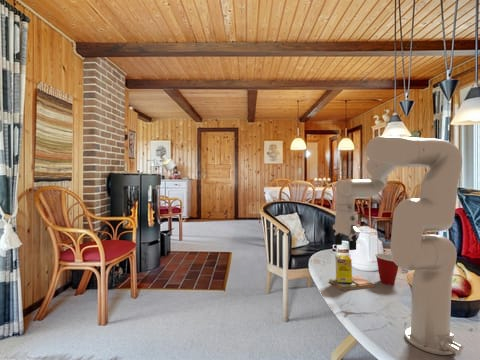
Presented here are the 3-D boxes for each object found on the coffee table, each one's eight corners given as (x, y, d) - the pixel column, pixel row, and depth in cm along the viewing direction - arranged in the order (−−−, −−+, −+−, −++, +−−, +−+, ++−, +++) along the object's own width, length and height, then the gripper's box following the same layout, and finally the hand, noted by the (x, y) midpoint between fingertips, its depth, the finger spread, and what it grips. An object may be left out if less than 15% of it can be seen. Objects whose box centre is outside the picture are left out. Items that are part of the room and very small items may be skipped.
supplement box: (352, 284, 121) (351, 259, 121) (338, 284, 123) (337, 259, 122) (349, 278, 127) (349, 254, 127) (335, 278, 128) (335, 254, 128)
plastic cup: (406, 287, 124) (407, 259, 123) (382, 286, 124) (382, 259, 123) (393, 277, 135) (393, 252, 134) (370, 277, 135) (371, 252, 134)
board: (374, 286, 124) (374, 282, 124) (342, 290, 119) (343, 286, 119) (358, 278, 133) (359, 274, 133) (329, 281, 129) (329, 277, 129)
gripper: (366, 209, 117) (366, 251, 117) (340, 206, 133) (340, 242, 133) (350, 210, 115) (350, 252, 115) (326, 206, 131) (326, 243, 131)
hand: (345, 247), depth 124 cm, fingers open, 9 cm apart
